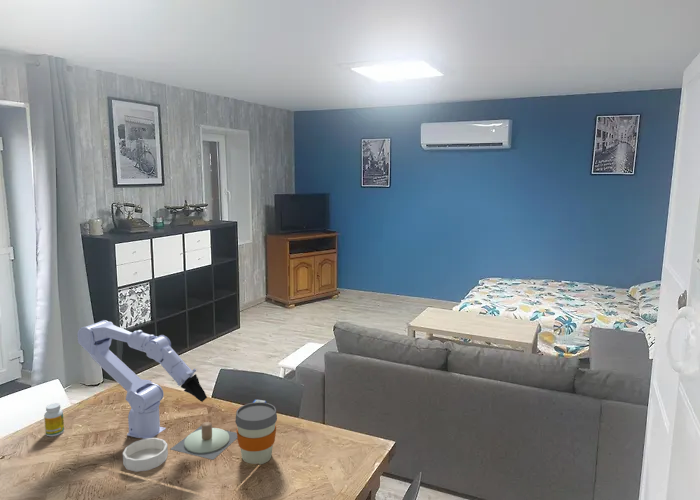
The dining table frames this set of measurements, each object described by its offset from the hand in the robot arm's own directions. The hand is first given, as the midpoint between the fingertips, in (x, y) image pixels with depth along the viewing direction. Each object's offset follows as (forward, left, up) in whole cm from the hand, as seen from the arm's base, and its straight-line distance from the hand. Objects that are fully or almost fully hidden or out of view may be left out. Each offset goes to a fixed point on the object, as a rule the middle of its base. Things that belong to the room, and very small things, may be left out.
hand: (204, 398), depth 150 cm
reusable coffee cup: (+19, 0, -16) cm, 25 cm away
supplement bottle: (-51, -12, -16) cm, 55 cm away
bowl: (-11, -14, -16) cm, 24 cm away
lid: (0, +1, -15) cm, 15 cm away
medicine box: (+10, +15, -16) cm, 24 cm away
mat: (0, +1, -16) cm, 16 cm away
